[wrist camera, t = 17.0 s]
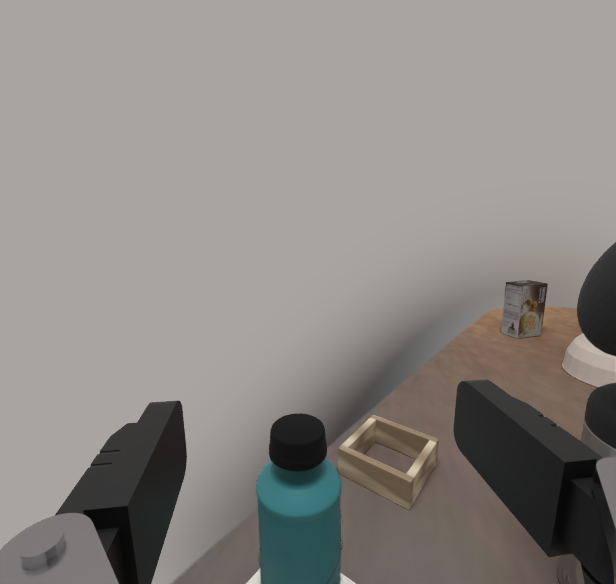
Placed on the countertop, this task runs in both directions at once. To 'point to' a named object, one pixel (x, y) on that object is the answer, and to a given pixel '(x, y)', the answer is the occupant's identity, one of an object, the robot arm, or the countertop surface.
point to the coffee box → (523, 308)
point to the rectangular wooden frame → (381, 475)
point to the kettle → (589, 363)
